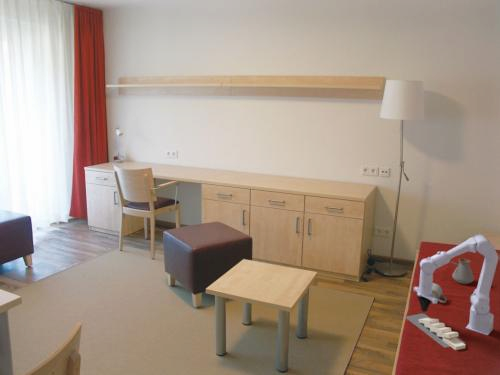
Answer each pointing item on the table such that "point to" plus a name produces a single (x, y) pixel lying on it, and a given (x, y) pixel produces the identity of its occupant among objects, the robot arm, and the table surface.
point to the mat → (427, 329)
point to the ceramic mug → (438, 293)
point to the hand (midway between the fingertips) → (424, 310)
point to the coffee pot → (463, 272)
